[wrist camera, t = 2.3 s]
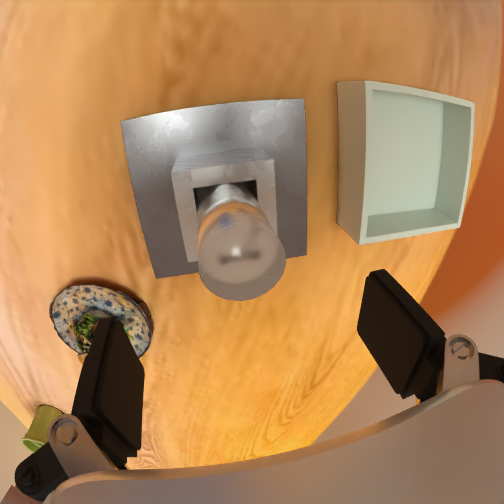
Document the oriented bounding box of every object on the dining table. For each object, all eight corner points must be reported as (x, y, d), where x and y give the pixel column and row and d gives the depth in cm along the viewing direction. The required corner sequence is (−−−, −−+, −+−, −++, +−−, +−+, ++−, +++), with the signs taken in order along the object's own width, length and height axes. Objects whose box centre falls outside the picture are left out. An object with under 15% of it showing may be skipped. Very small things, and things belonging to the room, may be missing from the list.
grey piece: (176, 159, 21) (157, 210, 11) (259, 148, 21) (311, 189, 12) (188, 234, 24) (187, 327, 14) (264, 223, 25) (307, 306, 15)
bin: (336, 81, 20) (364, 80, 16) (443, 97, 22) (474, 102, 18) (336, 222, 27) (359, 245, 23) (433, 210, 28) (459, 227, 24)
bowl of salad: (159, 285, 27) (151, 340, 21) (150, 361, 32) (147, 412, 26) (49, 263, 24) (18, 310, 17) (61, 343, 29) (45, 390, 22)
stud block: (123, 120, 19) (104, 125, 15) (300, 99, 21) (325, 99, 16) (157, 272, 26) (151, 306, 22) (303, 249, 28) (322, 278, 23)
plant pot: (25, 392, 32) (14, 433, 25) (73, 408, 35) (65, 451, 28) (37, 416, 36) (29, 453, 29) (80, 430, 39) (75, 468, 32)
